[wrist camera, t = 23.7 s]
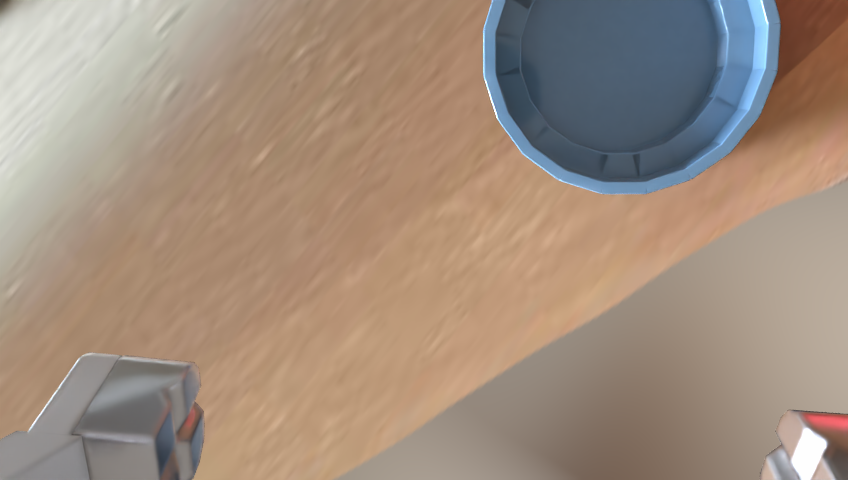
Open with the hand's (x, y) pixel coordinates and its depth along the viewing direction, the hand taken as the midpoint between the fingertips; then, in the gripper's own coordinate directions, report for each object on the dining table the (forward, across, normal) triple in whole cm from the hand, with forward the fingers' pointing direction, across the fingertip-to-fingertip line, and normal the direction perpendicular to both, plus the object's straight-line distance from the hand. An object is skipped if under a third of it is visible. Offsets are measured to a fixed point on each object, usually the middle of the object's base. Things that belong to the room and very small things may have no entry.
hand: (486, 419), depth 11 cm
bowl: (+31, -8, +3) cm, 32 cm away
